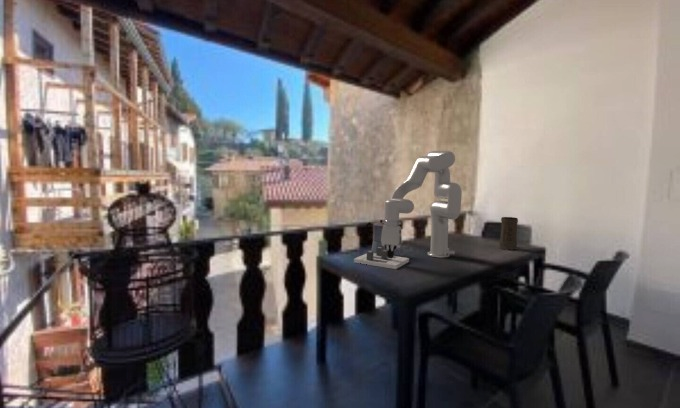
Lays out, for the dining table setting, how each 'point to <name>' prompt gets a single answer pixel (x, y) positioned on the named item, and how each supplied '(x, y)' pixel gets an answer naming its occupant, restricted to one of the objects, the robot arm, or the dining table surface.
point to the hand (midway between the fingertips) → (390, 257)
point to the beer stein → (508, 233)
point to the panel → (382, 261)
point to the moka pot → (376, 235)
